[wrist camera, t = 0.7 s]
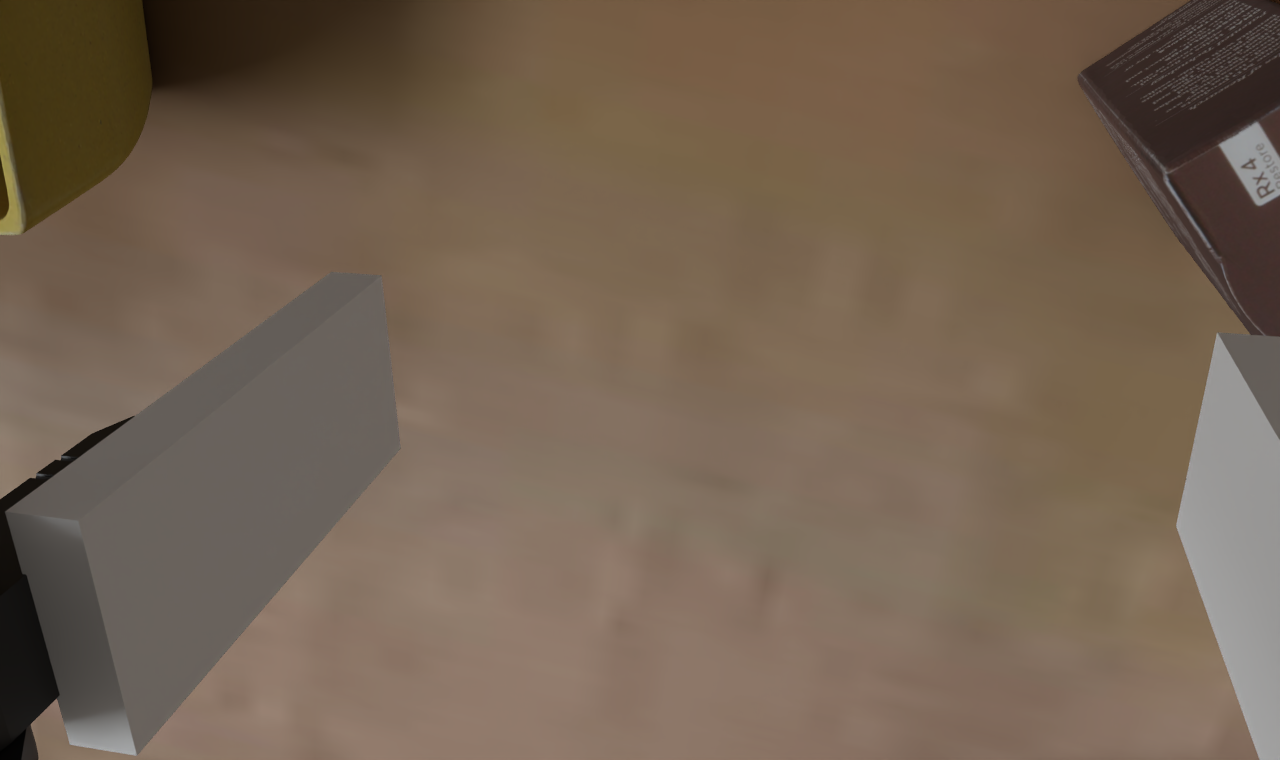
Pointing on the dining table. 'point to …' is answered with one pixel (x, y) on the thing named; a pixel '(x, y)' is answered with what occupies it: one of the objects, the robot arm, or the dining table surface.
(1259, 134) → the box
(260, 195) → the dining table surface
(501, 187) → the dining table surface
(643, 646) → the dining table surface
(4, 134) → the flower pot
